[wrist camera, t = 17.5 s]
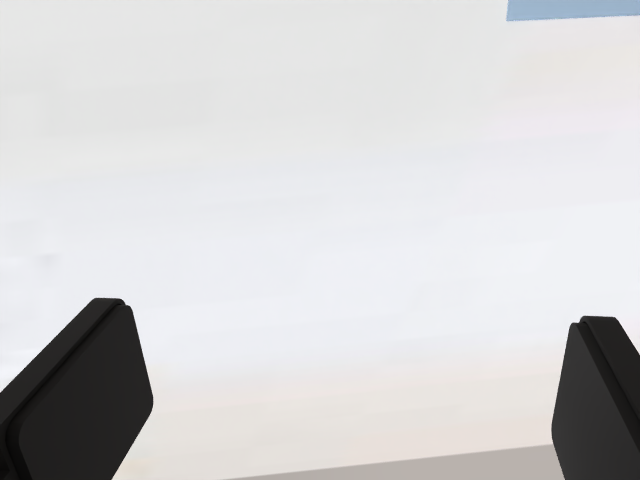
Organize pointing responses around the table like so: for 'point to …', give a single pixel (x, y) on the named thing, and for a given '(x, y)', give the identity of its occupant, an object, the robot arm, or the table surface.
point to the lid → (569, 9)
